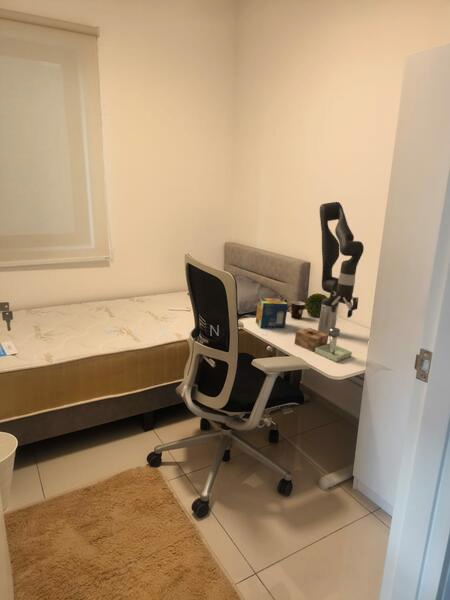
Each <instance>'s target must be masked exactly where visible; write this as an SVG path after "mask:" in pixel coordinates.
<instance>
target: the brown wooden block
mask: <svg viewBox="0 0 450 600" xmlns="http://www.w3.org/2000/svg"><path fill="white" fill-rule="evenodd" d="M328 341H329V335H328V334H325V333H322V332H320V331H318V329H314V328H311V327H308V328H304V329H301V330H297V331H295V337H294V345H296V346H298V347H301V348H303V349H306V350H307V351H310V352H312V353H315V348H317V347H320V346H323V345H326V344H328Z"/></svg>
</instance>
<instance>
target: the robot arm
mask: <svg viewBox="0 0 450 600" xmlns="http://www.w3.org/2000/svg"><path fill="white" fill-rule="evenodd" d="M319 219H320V221H319V222H320V228H321V256H322V264H321V265H322V269H321V271H322V273H321V288H322V290H323V292H326V293H329V294H330V295H329V297H324V298H323V299H322V300H321V307H320V314H319V319H318V328H317V331H320V332H322V333H325V334H328V336H330V335H329V329H330V328H332V327H333V328H336V325H337V320H338V317H337V314H338V309H339V304H344V305H345V306H346V307H347V309H348V310H347V318H351V317H352V316H353V311H356V310H358V306H359V297H358V296H356V297H355V296H353V294H354V288H355V283H356V272H357V267H358V265H359V262H360V260H361V258H362V256H363V253H364V249H365V247H364V244H363V242H362V241H360V240H354V239H355V236H354V234H353V232H352V230H351V228H350V226H349V225H348V221H347V218H346V214H345V211H344V208H343V206H342V204H341V203H340V202H339V201H333V202H325V203H322V204H321V205H320V206H319ZM337 220H338V222H337V224H336V226H335V229H334V233H335V235H334V234H333V232H332V230H331V229H330V227H329V222H331V221H337ZM340 253H341V255H342V256H345V257H350V258H349V259H346V260H343V261H342V262H341V265H340V272H339V275H338V277H335V276H333V268H334V266H335V264H336V263H337V261H338V259H339V257H340Z"/></svg>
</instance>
